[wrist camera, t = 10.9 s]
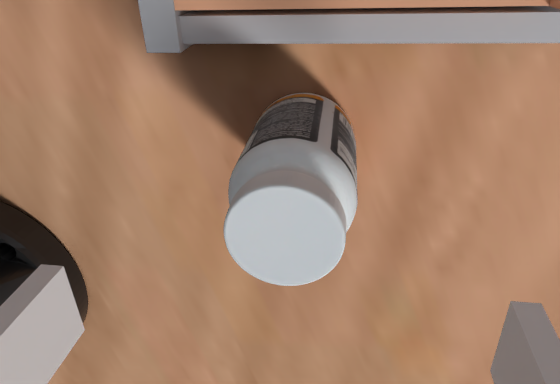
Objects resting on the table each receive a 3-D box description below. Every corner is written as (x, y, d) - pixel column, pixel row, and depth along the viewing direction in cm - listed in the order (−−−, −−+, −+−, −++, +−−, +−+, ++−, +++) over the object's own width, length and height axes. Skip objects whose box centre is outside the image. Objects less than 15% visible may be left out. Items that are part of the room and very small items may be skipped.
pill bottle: (244, 164, 27) (193, 270, 18) (273, 73, 24) (228, 149, 15) (334, 195, 27) (325, 315, 18) (373, 110, 24) (384, 205, 15)
